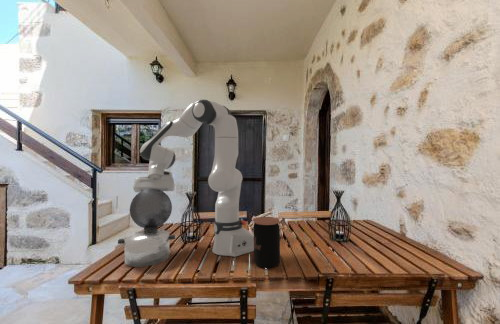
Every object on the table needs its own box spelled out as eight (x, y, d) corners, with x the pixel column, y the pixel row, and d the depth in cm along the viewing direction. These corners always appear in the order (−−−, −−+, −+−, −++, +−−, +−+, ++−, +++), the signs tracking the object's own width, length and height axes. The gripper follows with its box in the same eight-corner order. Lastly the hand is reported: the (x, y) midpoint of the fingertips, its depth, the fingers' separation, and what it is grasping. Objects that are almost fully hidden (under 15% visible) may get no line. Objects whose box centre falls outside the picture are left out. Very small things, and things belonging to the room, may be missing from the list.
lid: (128, 231, 114) (130, 230, 118) (171, 228, 119) (172, 227, 122) (130, 189, 118) (131, 189, 121) (171, 187, 122) (172, 188, 125)
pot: (124, 253, 114) (124, 231, 114) (176, 248, 119) (176, 227, 119) (112, 269, 96) (112, 244, 96) (173, 263, 102) (173, 239, 102)
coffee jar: (254, 258, 106) (253, 216, 106) (278, 258, 106) (278, 216, 106) (253, 269, 96) (253, 222, 96) (281, 269, 95) (280, 222, 95)
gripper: (134, 173, 130) (130, 194, 121) (174, 172, 135) (173, 192, 126) (136, 181, 135) (132, 201, 125) (175, 180, 140) (174, 199, 130)
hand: (153, 197), depth 126 cm, fingers closed
